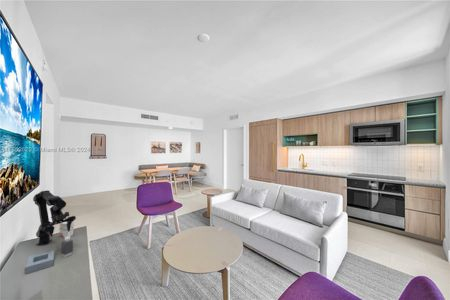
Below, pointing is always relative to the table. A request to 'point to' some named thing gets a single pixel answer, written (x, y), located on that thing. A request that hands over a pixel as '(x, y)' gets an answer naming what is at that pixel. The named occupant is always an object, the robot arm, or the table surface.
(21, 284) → the table surface
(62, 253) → the plug
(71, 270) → the table surface
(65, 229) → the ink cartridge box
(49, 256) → the socket block
